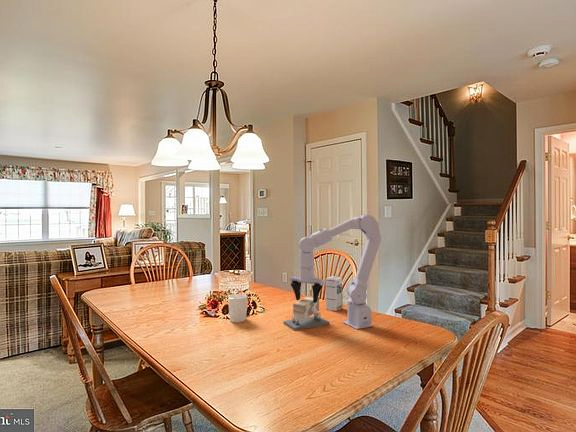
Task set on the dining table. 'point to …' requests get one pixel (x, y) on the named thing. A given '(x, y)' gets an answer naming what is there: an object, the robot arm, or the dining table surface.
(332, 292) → the syrup box
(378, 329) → the dining table surface
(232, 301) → the white cup
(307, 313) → the white blocky piece
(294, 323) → the peg stand
